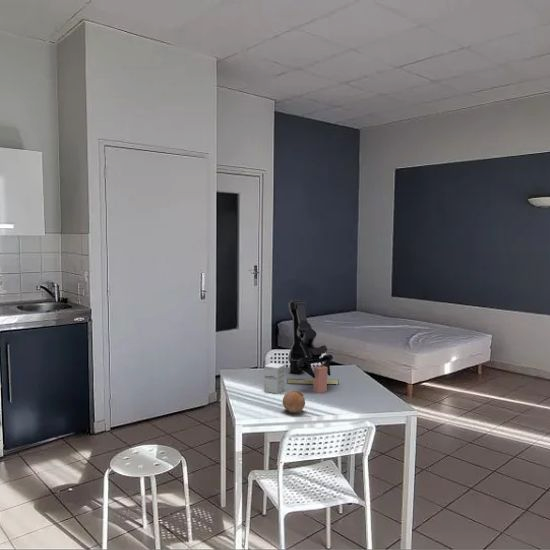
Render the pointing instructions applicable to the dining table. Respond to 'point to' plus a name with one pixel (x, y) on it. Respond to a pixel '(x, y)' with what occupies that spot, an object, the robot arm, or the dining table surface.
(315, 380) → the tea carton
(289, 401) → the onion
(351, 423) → the dining table surface
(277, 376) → the supplement box
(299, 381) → the price rail
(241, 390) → the dining table surface
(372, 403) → the dining table surface
